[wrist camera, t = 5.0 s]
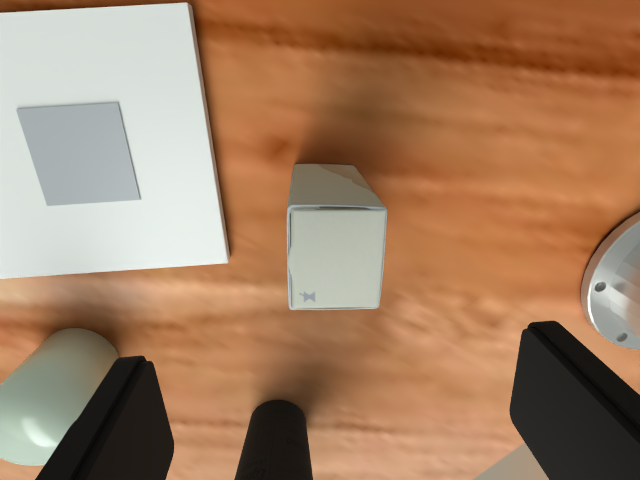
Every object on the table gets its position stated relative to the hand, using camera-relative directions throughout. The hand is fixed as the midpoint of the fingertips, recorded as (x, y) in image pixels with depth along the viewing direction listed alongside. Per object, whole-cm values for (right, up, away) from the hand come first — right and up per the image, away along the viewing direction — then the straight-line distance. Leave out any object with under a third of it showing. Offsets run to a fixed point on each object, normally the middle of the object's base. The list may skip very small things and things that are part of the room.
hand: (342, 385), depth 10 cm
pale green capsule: (-20, -6, +21) cm, 30 cm away
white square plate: (-16, +9, +16) cm, 24 cm away
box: (0, +7, +18) cm, 19 cm away
